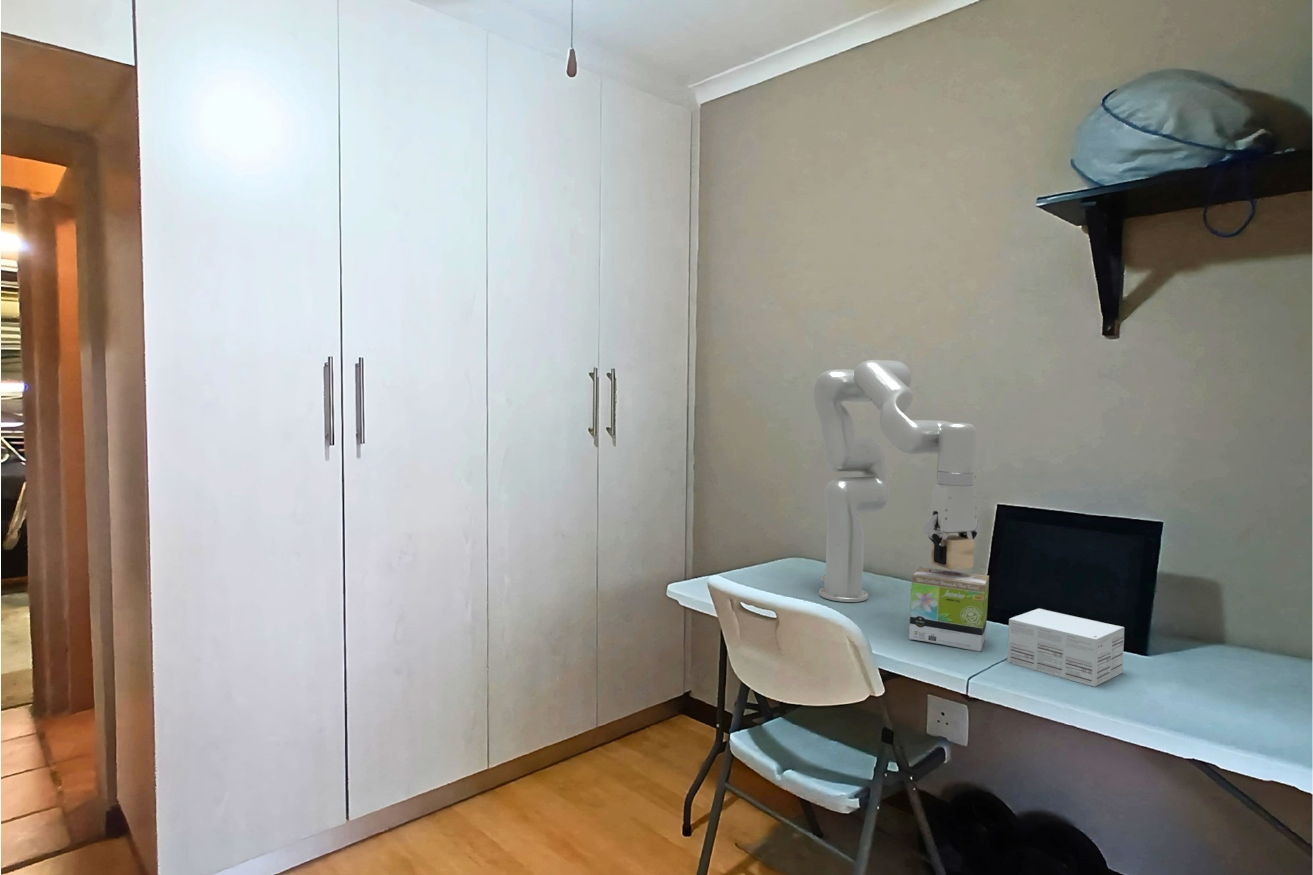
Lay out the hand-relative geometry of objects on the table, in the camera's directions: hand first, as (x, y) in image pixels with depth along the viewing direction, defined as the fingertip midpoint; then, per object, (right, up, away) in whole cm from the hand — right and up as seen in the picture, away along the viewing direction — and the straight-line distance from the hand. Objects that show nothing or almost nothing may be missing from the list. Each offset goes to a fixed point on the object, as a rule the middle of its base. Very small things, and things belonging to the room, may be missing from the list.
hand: (951, 561), depth 167 cm
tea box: (0, -18, +1) cm, 18 cm away
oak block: (0, -1, 0) cm, 1 cm away
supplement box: (+17, -19, -14) cm, 29 cm away
